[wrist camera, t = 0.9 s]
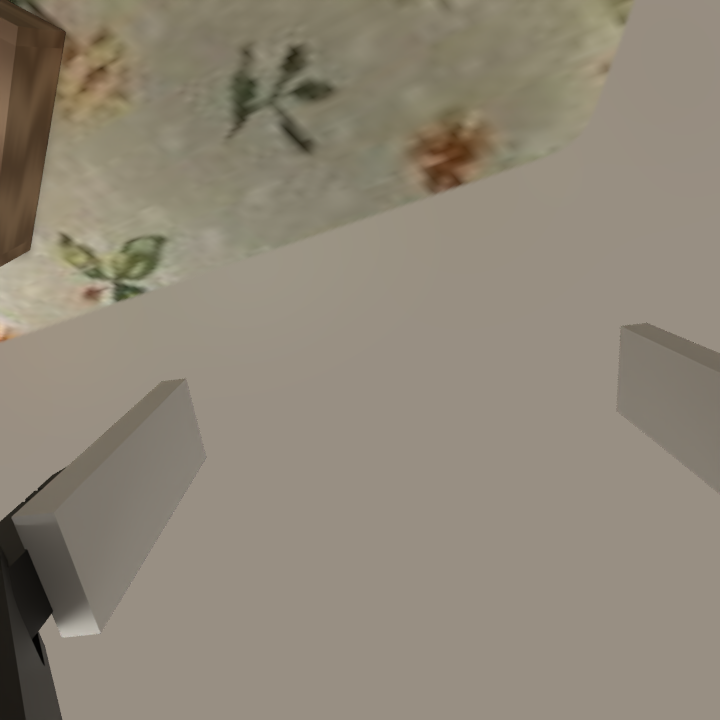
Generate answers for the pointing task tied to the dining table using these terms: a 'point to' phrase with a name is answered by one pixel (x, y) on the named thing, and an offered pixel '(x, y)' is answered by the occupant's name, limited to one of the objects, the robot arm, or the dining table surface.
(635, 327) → the robot arm
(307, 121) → the dining table surface
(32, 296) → the dining table surface
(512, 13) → the dining table surface
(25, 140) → the rectangular frame
